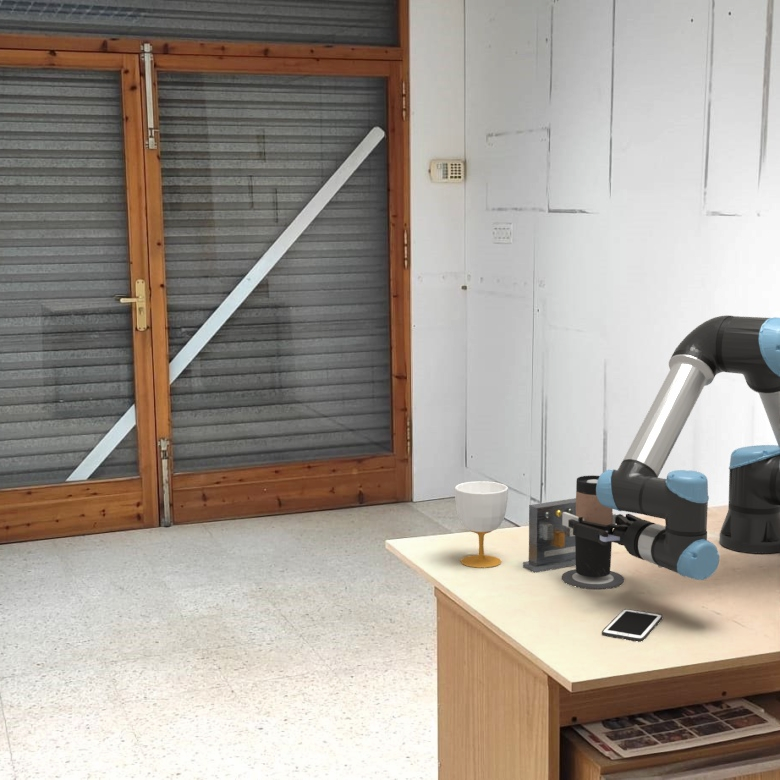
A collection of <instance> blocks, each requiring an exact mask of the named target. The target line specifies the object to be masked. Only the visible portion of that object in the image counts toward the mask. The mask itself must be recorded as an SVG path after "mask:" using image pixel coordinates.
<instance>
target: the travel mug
mask: <svg viewBox="0 0 780 780" xmlns="http://www.w3.org/2000/svg"><path fill="white" fill-rule="evenodd" d="M599 477H600V475H581V476H578V477H577V478H576V483H575V484H576V488H575V489H576V490H575V498H576V516H577V517H583V519H584V521H587V522H592V523H598V524H603V525H609V524H612V513H613V510H614V509H612V508H608V507H605V506H603V505H602V504H601V503H600V502H599V500H598V498H597V495H596V485H597V481H598V479H599ZM612 546H613V542H609V541H608V545H607V546H604V545H602V544H600V543H598V542H595V541H592V540H588V539H585V538H582V537H578V536H575V552H576V565H575V569H576V572H577V573H578V574H579V575H582V576H587V577H603V576H607V575H609V574H610V571H611V566H612V564H611V563H612Z"/></svg>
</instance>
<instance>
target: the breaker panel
mask: <svg viewBox="0 0 780 780" xmlns="http://www.w3.org/2000/svg"><path fill="white" fill-rule="evenodd" d="M528 507H529V508H528V560H527V561H523V562H522V568H524V569H525V570H528V571H530V572H532V571H533V573H535V572H536V573H540V571H541V572H545V571H546V570H547V571H551V570H550V569H552V570H556V568H558V569H562V568H561V567H563V568H567V567H566V566H569V567H572V566H571V565H574V566H576V552H575V535H573V529H572V528H569V527H566V526H564V525H562V518H563V512H567V513H569V514H572V515H575V516H576V497H575V498H568V499H562V500H555V501H549V502H542V503H541V502H540V503H534V504H529V506H528Z"/></svg>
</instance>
